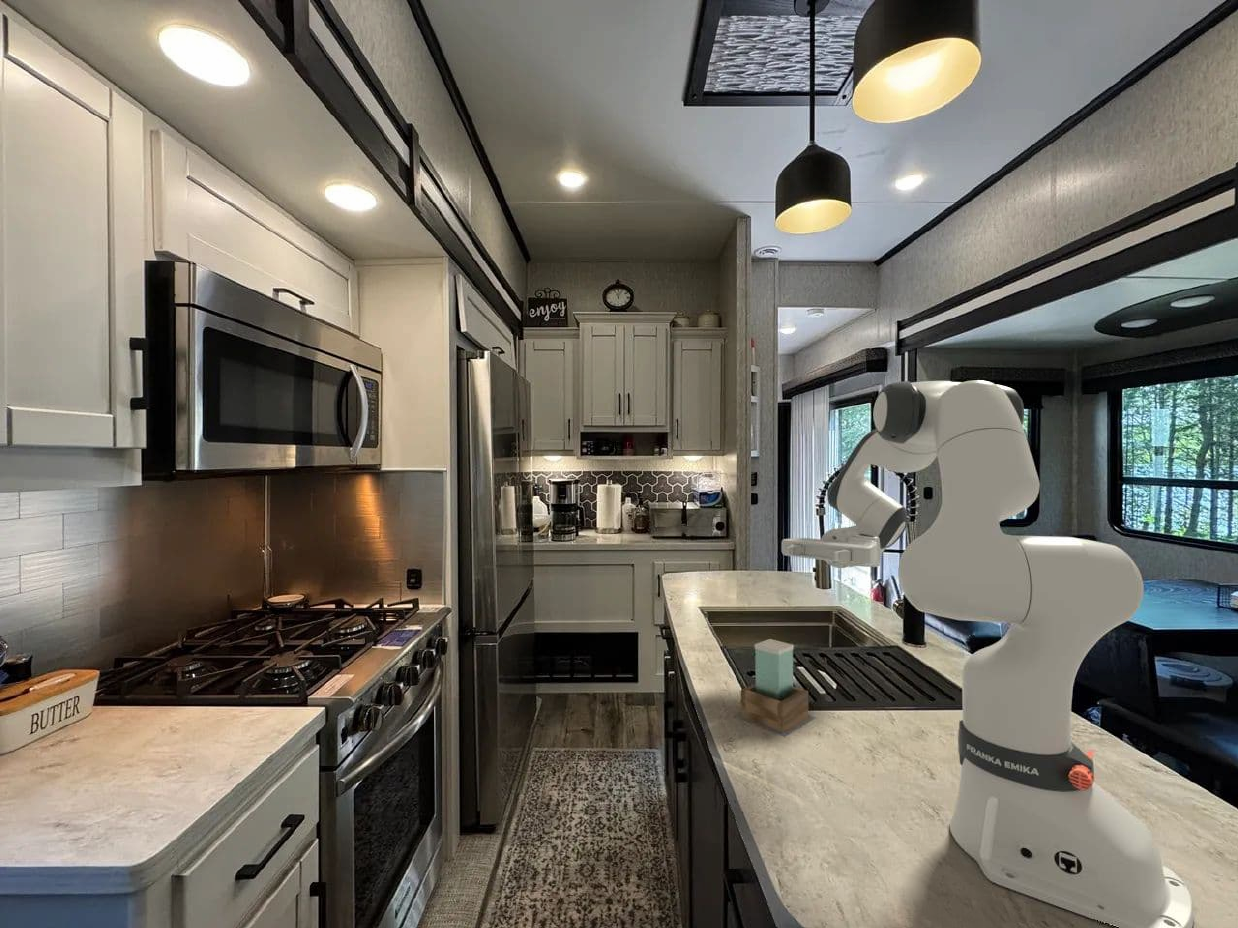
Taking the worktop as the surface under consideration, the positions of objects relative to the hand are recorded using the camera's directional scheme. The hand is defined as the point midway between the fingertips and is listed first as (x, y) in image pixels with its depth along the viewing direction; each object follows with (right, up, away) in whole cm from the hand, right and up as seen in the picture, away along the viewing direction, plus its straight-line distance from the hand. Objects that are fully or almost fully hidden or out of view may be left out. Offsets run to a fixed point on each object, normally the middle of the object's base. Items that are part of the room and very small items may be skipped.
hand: (810, 554), depth 115 cm
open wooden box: (-10, -29, -10) cm, 33 cm away
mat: (-10, -30, -10) cm, 33 cm away
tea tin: (-10, -28, -10) cm, 31 cm away
